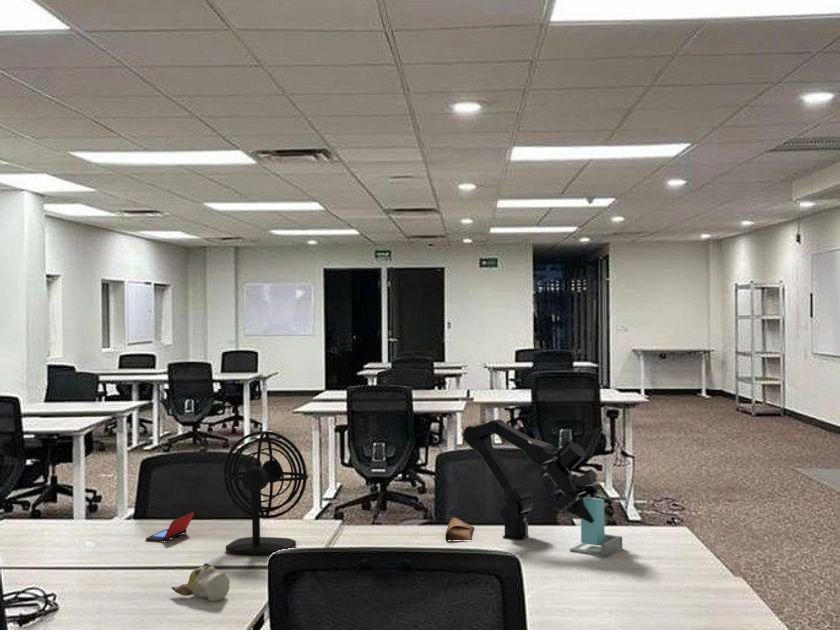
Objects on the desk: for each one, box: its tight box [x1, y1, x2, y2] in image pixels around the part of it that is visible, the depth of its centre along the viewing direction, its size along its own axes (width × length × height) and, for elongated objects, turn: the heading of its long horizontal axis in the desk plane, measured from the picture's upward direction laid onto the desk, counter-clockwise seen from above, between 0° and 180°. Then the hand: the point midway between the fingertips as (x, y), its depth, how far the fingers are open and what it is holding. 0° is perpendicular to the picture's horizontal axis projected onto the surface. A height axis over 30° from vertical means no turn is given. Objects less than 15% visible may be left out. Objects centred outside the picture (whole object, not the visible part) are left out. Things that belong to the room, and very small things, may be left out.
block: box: [580, 497, 606, 545], centre depth 251 cm, size 5×5×12 cm
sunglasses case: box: [445, 517, 475, 541], centre depth 271 cm, size 18×7×7 cm
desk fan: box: [223, 430, 309, 556], centre depth 258 cm, size 27×18×35 cm, turn 78°
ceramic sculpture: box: [171, 562, 230, 602], centre depth 213 cm, size 11×9×15 cm
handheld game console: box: [145, 511, 195, 543], centre depth 273 cm, size 12×11×7 cm
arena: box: [569, 533, 623, 558], centre depth 251 cm, size 11×11×4 cm
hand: (596, 520), depth 250 cm, fingers closed on block, 5 cm apart
